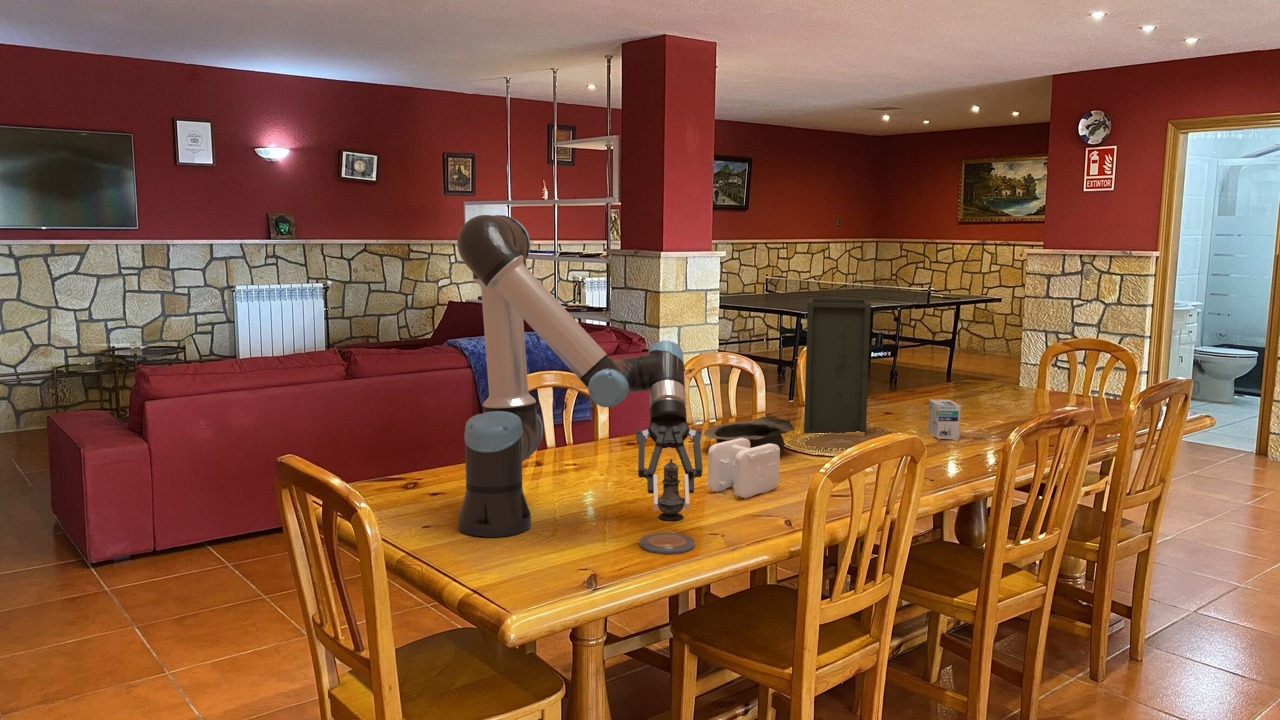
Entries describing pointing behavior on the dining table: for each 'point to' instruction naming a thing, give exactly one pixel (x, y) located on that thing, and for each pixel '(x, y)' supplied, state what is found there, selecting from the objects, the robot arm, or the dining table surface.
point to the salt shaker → (670, 495)
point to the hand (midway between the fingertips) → (671, 506)
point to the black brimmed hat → (752, 431)
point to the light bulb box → (944, 419)
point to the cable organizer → (743, 467)
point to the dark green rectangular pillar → (837, 365)
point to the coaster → (667, 543)
